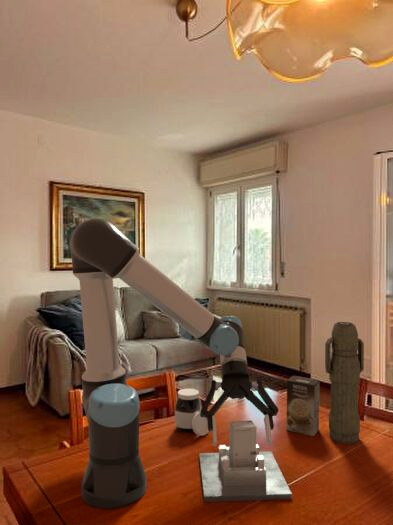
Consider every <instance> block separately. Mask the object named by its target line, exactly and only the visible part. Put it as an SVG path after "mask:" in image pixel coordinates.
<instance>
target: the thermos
mask: <svg viewBox="0 0 393 525" xmlns="http://www.w3.org/2000/svg"><path fill="white" fill-rule="evenodd" d="M364 344H365V342H364V341H363V339H361V338H359V333H358V330H357V327H356V324H354V323H352V322H347V321H337V322H336V323H334V324H333V327H332V329H331V337H329V338H327V340H326V342H325V346H324V347H325V349H324V350H325V351H324V354H325V357H324V359H325V360H324V361H325V362H324V364H325V366H324V367H325V373H327V374H329V375H328V377H329V381H330V409H329V413H328V429H329V436H330V437H329V436H328V437H329V438H330V439H331V440H332V441H333V442H336V443H340V444H344V445H355V444H357V443H359V441H360V433H361V417H360V415H359V384H360V382H361V373H362V372H363V371H364V369H365V366H364V365H365V362H364V359H365V357H364V356H365V355H364V354H365V353H364V352H365V350H364V349H365V348H364V347H365V345H364Z"/></svg>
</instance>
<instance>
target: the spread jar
mask: <svg viewBox="0 0 393 525" xmlns="http://www.w3.org/2000/svg"><path fill="white" fill-rule="evenodd" d="M201 408H202V400H201V398H200V392H199V390H197V389H195V388H183V389H179V390H178V391H177V399H176V402H175V406H174V425H175V428H176V429H177V430H178V431H180V432H183V433H193V432H194V434H196V435H197V436H200V437H202V436H206V435H207V434H208V432H209V431H208V421H207V418H205V417H201V416H200V411H201Z"/></svg>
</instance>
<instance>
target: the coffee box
mask: <svg viewBox="0 0 393 525" xmlns="http://www.w3.org/2000/svg"><path fill="white" fill-rule="evenodd" d="M320 390H321V389H320V380H319V379H315V378H310V377H309V378H308V377H304V376H297V375H292V376H290V377H289V378H288V379H287V380H286V428H285V429H286V430H287V431H290V432H295V433H298V434H302V435H307V436H310V437H315V435H316V434H317V433H318V431H319V429H320V427H319V426H320Z"/></svg>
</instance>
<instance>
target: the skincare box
mask: <svg viewBox="0 0 393 525" xmlns="http://www.w3.org/2000/svg"><path fill="white" fill-rule="evenodd" d="M228 430H229V438H228V442H229V443H228V444H229V445H228V447H229V467H230V468H234V467H256V444H257V425H256V424H255V423H254V421H253V420H234V421H233V420H232V421H229V429H228Z"/></svg>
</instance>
